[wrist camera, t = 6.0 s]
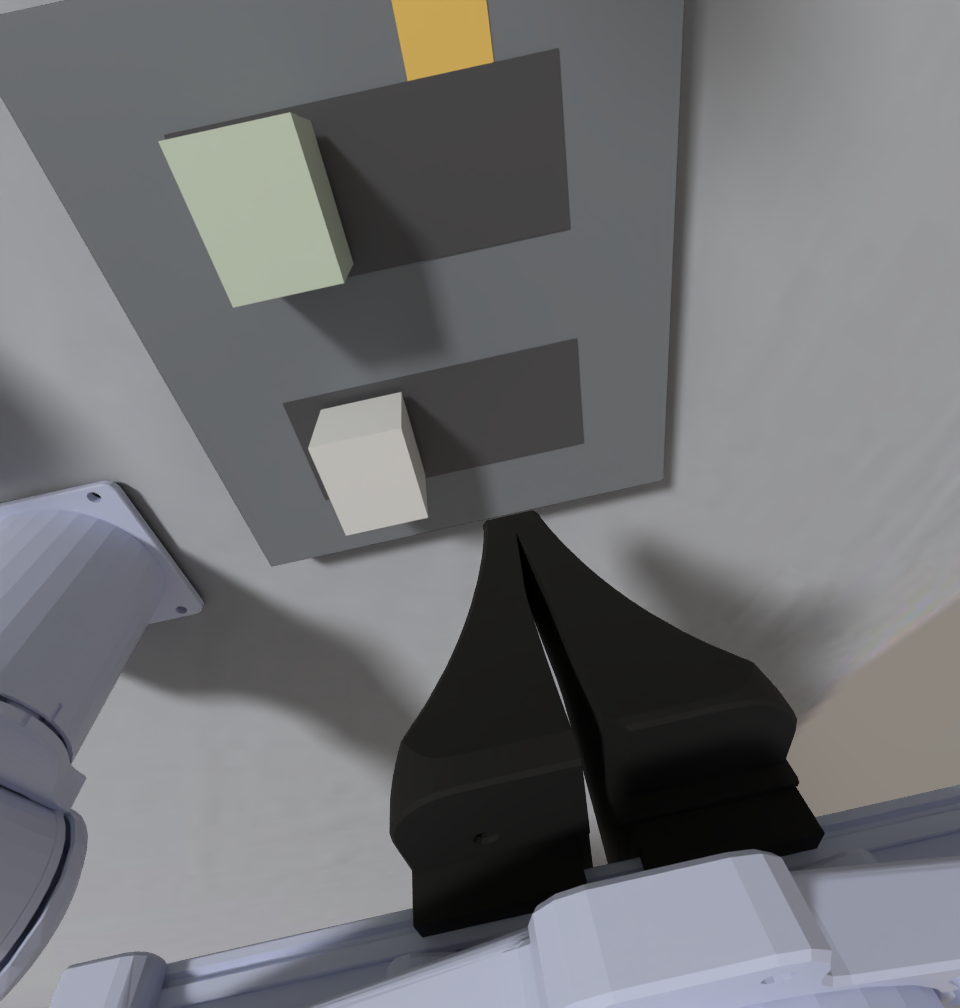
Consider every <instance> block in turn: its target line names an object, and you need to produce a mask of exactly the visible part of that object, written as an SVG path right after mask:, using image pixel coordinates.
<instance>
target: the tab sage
mask: <svg viewBox="0 0 960 1008" xmlns="http://www.w3.org/2000/svg"><path fill="white" fill-rule="evenodd" d="M158 142H159V144H160V147H161V149H162V151H163V153H164V156H165V158H166V160H167V162H168V164H169V167H170V169H171V171H172V173H173V176H174V178H175V180H176V182H177V184H178V187H179V189H180V191H181V193H182V196H183V198H184V200H185V202H186V204H187V207H188V209H189V211H190V213H191V215H192V218H193V220H194V222H195V224H196V227H197V229H198V231H199V233H200V235H201V238H202V240H203V242H204V244H205V247H206V249H207V251H208V253H209V255H210V258H211V260H212V262H213V264H214V267H215V269H216V271H217V273H218V275H219V278H220V280H221V282H222V284H223V286H224V289H225V291H226V293H227V295H228V298H229V300H230V302H231V304H232V306H233V308H234V307H238V306H243V305H247V304H252V303H257V302H261V301H266V300H270V299H275V298H279V297H284V296H288V295H293V294H297V293H302V292H306V291H311V290H315V289H320V288H324V287H329V286H334V285H338V284H343V283H345V281H346V279H347V276H348V274H349V272H350V270H351V268H352V266H353V260H352V257H351V254H350V250H349V247H348V244H347V240H346V237H345V234H344V230H343V227H342V223H341V220H340V217H339V213H338V210H337V207H336V203H335V200H334V197H333V193H332V190H331V187H330V183H329V180H328V177H327V173H326V170H325V167H324V163H323V160H322V157H321V153H320V150H319V147H318V143H317V140H316V137H315V133H314V130H313V127H312V123H311V121H310V120H308V119H305V118H303V117H301V116H298V115H296V114H293V113H291V112H289V113H284V114H280V115H275V116H271V117H266V118H262V119H257V120H253V121H248V122H244V123H239V124H234V125H230V126H225V127H221V128H216V129H212V130H207V131H203V132H198V133H194V134H189V135H185V136H180V137H175V138H171V139H166V140H162V141H158Z"/></svg>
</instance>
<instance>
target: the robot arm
mask: <svg viewBox="0 0 960 1008" xmlns="http://www.w3.org/2000/svg"><path fill="white" fill-rule="evenodd" d="M92 492H94V493H97V494H98V495H100V497H96V496H95V495H93V494H92ZM483 529H484V544H483V553H482V560H481V565H480V571H479V576H478V581H477V585H476V588H475V592H474V596H473V600H472V603H471V607H470V610H469V613H468V616H467V619H466V622H465V624H464V627H463V630H462V632H461V635H460V637H459V640H458V642H457V644H456V647H455V649H454V651H453V653H452V656H451V658H450V660H449V662H448V664H447V666H446V668H445V670H444V672H443V674H442V676H441V678H440V679H439V681H438V683H437V685H436V687H435V689H434V690H433V692H432V694H431V696H430V698H429V699H428V701H427V703H426V704H425V706H424V708H423V709H422V711H421V712H420V714H419V715H418V717H417V718H416V720H415V721H414V723H413V724H412V726H411V727H410V729H409V730H408V732H407V733H406V735H405V736H404V738H403V739H402V741H401V743H400V747H399V751H398V755H397V760H396V764H395V769H394V774H393V780H392V788H391V797H390V836H391V839H392V841H393V843H394V845H395V846H396V848H397V849H398V851H399V852H400V854H401V855H402V857H403V858H404V859H405V861H406V862H407V864H408V865H409V867H410V868H411V870H412V887H413V908H412V909H407V910H403V911H399V912H394V913H390V914H385V915H381V916H376V917H372V918H368V919H363V920H359V921H354V922H350V923H346V924H341V925H337V926H332V927H328V928H323V929H319V930H315V931H310V932H306V933H301V934H297V935H292V936H288V937H284V938H279V939H275V940H270V941H266V942H261V943H257V944H253V945H248V946H244V947H239V948H235V949H230V950H226V951H222V952H217V953H213V954H208V955H204V956H199V957H195V958H191V959H186V960H182V961H177V962H173V963H169V964H167V963H166V962H165V960H163V959H162V958H161V957H159V956H157V955H155V954H152V953H149V952H129V953H123V954H118V955H114V956H109V957H105V958H101V959H96V960H92V961H87V962H83V963H78V964H74V965H71V966H69V967H68V968H67V969H65V970H64V972H63V974H62V976H61V979H60V981H59V984H58V986H57V988H56V991H55V993H54V996H53V998H52V1000H51V1003H50V1005H49V1008H960V785H956V786H952V787H947V788H943V789H939V790H934V791H930V792H926V793H921V794H916V795H912V796H908V797H904V798H899V799H894V800H890V801H886V802H881V803H876V804H872V805H868V806H864V807H859V808H854V809H850V810H846V811H841V812H837V813H832V814H828V815H823V816H819V817H814V815H813V813H812V812H811V810H810V809H809V807H808V805H807V804H806V802H805V801H804V799H803V798H802V796H801V794H800V793H799V791H798V790H797V788H796V786H798V784H799V781H798V778H797V776H796V774H795V773H794V771H793V769H792V768H791V766H790V765H789V763H788V762H787V760H786V757H787V753H788V751H789V748H790V745H791V743H792V740H793V737H794V734H795V731H796V723H797V718H796V716H795V714H794V712H793V710H792V708H791V707H790V706H789V704H788V703H787V701H786V700H785V699H784V697H783V696H782V694H781V693H780V692H779V691H778V689H777V688H776V687H775V686H774V685H773V684H772V683H771V681H770V680H769V679H768V678H767V677H766V676H765V675H764V674H763V673H762V671H761V670H760V669H759V668H758V667H757V666H756V665H755V664H754V663H753V662H751V661H748V660H746V659H744V658H741V657H739V656H736V655H734V654H732V653H729V652H727V651H724V650H722V649H720V648H717V647H715V646H712V645H710V644H708V643H705V642H703V641H701V640H699V639H697V638H695V637H693V636H691V635H689V634H687V633H685V632H683V631H681V630H679V629H678V628H676V627H674V626H672V625H671V624H669V623H667V622H665V621H664V620H662V619H660V618H658V617H657V616H655V615H653V614H651V613H650V612H648V611H646V610H645V609H643V608H642V607H640V606H639V605H637V604H636V603H634V602H633V601H631V600H630V599H628V598H627V597H625V596H624V595H623V594H621V593H620V592H618V591H617V590H616V589H614V588H613V587H612V586H610V585H609V584H608V583H606V582H605V581H604V580H603V579H601V578H600V577H599V576H598V575H597V574H595V573H594V572H593V571H592V570H591V569H590V568H588V567H587V566H586V565H585V564H584V563H583V562H582V561H581V560H580V559H579V558H577V557H576V556H575V555H574V554H573V553H572V552H571V551H570V550H569V549H568V548H567V547H566V546H565V545H564V544H563V543H562V542H561V541H560V540H559V539H558V537H557V536H556V535H555V534H554V533H553V532H552V531H551V530H550V529H549V527H548V526H547V525H546V524H545V523H544V521H543V520H542V519H541V517H540V516H539V514H538V513H536V512H535V511H533V510H532V511H528V512H523V513H519V514H515V515H510V516H506V517H501V518H497V519H492V520H488V521H486V522H485V523H484V525H483ZM180 606H182V607H185V608H182V607H180ZM203 606H204V602H203V600H202V599H201V597H200V596H199V595H198V593H197V592H196V590H195V589H194V588H193V586H192V585H191V584H190V582H189V581H188V579H187V578H186V577H185V575H184V574H183V573H182V571H181V570H180V568H179V567H178V566H177V564H176V563H175V561H174V560H173V559H172V557H171V556H170V555H169V553H168V552H167V550H166V549H165V548H164V546H163V545H162V544H161V542H160V541H159V539H158V538H157V537H156V535H155V534H154V533H153V531H152V530H151V528H150V527H149V526H148V524H147V523H146V521H145V520H144V519H143V517H142V516H141V515H140V513H139V512H138V510H137V509H136V508H135V506H134V505H133V504H132V502H131V501H130V499H129V498H128V497H127V495H126V494H125V493H124V491H123V490H122V488H121V487H120V486H119V485H118V484H116V483H114V482H111V481H99V482H95V483H90V484H86V485H81V486H77V487H72V488H68V489H63V490H58V491H54V492H49V493H45V494H40V495H36V496H31V497H27V498H22V499H18V500H13V501H9V502H4V503H0V1001H1V1000H2V999H3V998H4V997H5V996H6V995H7V994H8V993H9V992H10V991H11V990H12V989H13V987H14V986H15V985H16V984H17V983H18V982H19V981H20V979H21V978H22V977H23V976H24V975H25V973H26V972H27V971H28V970H29V968H30V967H31V966H32V965H33V963H34V962H35V961H36V959H37V958H38V957H39V955H40V954H41V952H42V951H43V949H44V948H45V947H46V945H47V944H48V942H49V940H50V939H51V937H52V936H53V934H54V932H55V931H56V929H57V928H58V926H59V924H60V922H61V920H62V919H63V917H64V915H65V913H66V911H67V909H68V907H69V905H70V902H71V900H72V898H73V895H74V893H75V891H76V888H77V885H78V882H79V879H80V875H81V871H82V868H83V864H84V860H85V855H86V851H87V839H88V833H87V827H86V824H85V822H84V820H83V818H82V816H81V815H79V814H78V813H77V812H76V811H74V810H72V809H71V807H72V805H73V803H74V801H75V799H76V797H77V795H78V793H79V791H80V789H81V787H82V785H83V783H84V782H85V780H86V776H85V775H83V774H81V773H80V772H78V771H77V770H76V769H75V768H74V767H73V766H72V765H71V764H72V762H73V760H74V758H75V756H76V755H77V753H78V751H79V749H80V747H81V745H82V744H83V742H84V740H85V738H86V736H87V735H88V733H89V731H90V729H91V727H92V725H93V724H94V722H95V720H96V718H97V716H98V714H99V713H100V711H101V709H102V707H103V705H104V704H105V702H106V700H107V698H108V696H109V694H110V693H111V691H112V689H113V687H114V685H115V683H116V682H117V680H118V678H119V676H120V674H121V673H122V671H123V669H124V667H125V665H126V663H127V662H128V660H129V658H130V656H131V654H132V652H133V651H134V649H135V647H136V645H137V643H138V642H139V640H140V638H141V636H142V634H143V632H144V631H145V629H146V627H147V625H148V624H153V623H157V622H162V621H166V620H171V619H175V618H180V617H185V616H189V615H194V614H197V613H200V612H201V611H202V609H203ZM534 621H535V622H534ZM535 624H536V625H535ZM536 627H537V628H536ZM537 629H538V631H537ZM538 632H539V635H540V637H541V640H542V642H543V645H544V647H545V650H546V653H547V655H548V658H549V660H550V663H551V666H552V668H553V671H554V673H555V676H556V679H557V681H558V684H559V687H560V690H561V693H562V696H563V700H564V703H565V707H566V711H567V714H568V718H569V720H568V718H567V715H566V713H565V710H564V707H563V704H562V701H561V699H560V696H559V693H558V690H557V688H556V685H555V682H554V679H553V676H552V673H551V670H550V667H549V665H548V662H547V659H546V656H545V653H544V650H543V647H542V644H541V641H540V638H539V635H538ZM569 721H570V723H569ZM570 725H571V726H570ZM583 772H584V776H585V779H586V783H587V787H588V790H589V794H590V798H591V801H592V805H593V809H594V813H595V816H596V820H597V824H598V828H599V831H600V835H601V839H602V843H603V847H604V850H605V854H606V858H607V862H608V864H607V865H602V866H598V867H593V864H592V856H591V848H590V839H589V833H590V828H589V820H588V811H587V803H586V794H585V785H584V777H583Z"/></svg>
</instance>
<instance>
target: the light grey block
mask: <svg viewBox="0 0 960 1008" xmlns="http://www.w3.org/2000/svg"><path fill="white" fill-rule="evenodd" d="M308 450H309V452H310V455H311V457H312V459H313V461H314V464H315V466H316V468H317V471H318V473H319V475H320V478H321V480H322V482H323V484H324V487H325V489H326V491H327V494H328V496H329V498H330V501H331V503H332V505H333V507H334V510H335V512H336V514H337V517H338V519H339V521H340V523H341V526H342V528H343V530H344V533H345V535H346V536H347V535H352V534H356V533H361V532H365V531H370V530H374V529H379V528H384V527H388V526H393V525H397V524H402V523H406V522H411V521H415V520H420V519H424V518H428V508H427V494H426V480H425V472H424V469H423V465H422V462H421V458H420V455H419V451H418V448H417V444H416V441H415V437H414V434H413V430H412V427H411V423H410V420H409V416H408V413H407V409H406V406H405V403H404V399H403V396H402V392H399V393H394V394H390V395H385V396H380V397H376V398H371V399H367V400H362V401H358V402H353V403H349V404H344V405H340V406H335V407H331V408H326V409H322V410H321V411H320V414H319V417H318V420H317V423H316V426H315V429H314V432H313V435H312V438H311V441H310V444H309V447H308Z"/></svg>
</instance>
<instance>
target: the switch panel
mask: <svg viewBox="0 0 960 1008" xmlns="http://www.w3.org/2000/svg"><path fill="white" fill-rule="evenodd" d="M683 13H684V0H64V1H59V2H55V3H50V4H45V5H41V6H36V7H32V8H27V9H23V10H18V11H14V12H9V13H4V14H0V96H1V98H2V100H3V102H4V103H5V105H6V107H7V109H8V110H9V112H10V114H11V115H12V117H13V119H14V121H15V122H16V124H17V126H18V128H19V129H20V131H21V133H22V135H23V136H24V138H25V140H26V141H27V143H28V145H29V147H30V148H31V150H32V152H33V154H34V155H35V157H36V159H37V161H38V162H39V164H40V166H41V168H42V169H43V171H44V173H45V174H46V176H47V178H48V180H49V181H50V183H51V185H52V187H53V188H54V190H55V192H56V194H57V195H58V197H59V199H60V201H61V202H62V204H63V206H64V207H65V209H66V211H67V213H68V214H69V216H70V218H71V220H72V221H73V223H74V225H75V227H76V228H77V230H78V232H79V233H80V235H81V237H82V239H83V240H84V242H85V244H86V246H87V247H88V249H89V251H90V253H91V254H92V256H93V258H94V260H95V261H96V263H97V265H98V266H99V268H100V270H101V272H102V273H103V275H104V277H105V279H106V280H107V282H108V284H109V286H110V287H111V289H112V291H113V293H114V294H115V296H116V298H117V299H118V301H119V303H120V305H121V306H122V308H123V310H124V312H125V313H126V315H127V317H128V319H129V320H130V322H131V324H132V325H133V327H134V329H135V331H136V332H137V334H138V336H139V338H140V339H141V341H142V343H143V345H144V346H145V348H146V350H147V352H148V353H149V355H150V357H151V358H152V360H153V362H154V364H155V365H156V367H157V369H158V371H159V372H160V374H161V376H162V378H163V379H164V381H165V383H166V385H167V386H168V388H169V390H170V391H171V393H172V395H173V397H174V398H175V400H176V402H177V404H178V405H179V407H180V409H181V411H182V412H183V414H184V416H185V418H186V419H187V421H188V423H189V424H190V426H191V428H192V430H193V431H194V433H195V435H196V437H197V438H198V440H199V442H200V444H201V445H202V447H203V449H204V450H205V452H206V454H207V456H208V457H209V459H210V461H211V463H212V464H213V466H214V468H215V470H216V471H217V473H218V475H219V477H220V478H221V480H222V482H223V483H224V485H225V487H226V489H227V490H228V492H229V494H230V496H231V497H232V499H233V501H234V503H235V504H236V506H237V508H238V510H239V511H240V513H241V515H242V516H243V518H244V520H245V522H246V523H247V525H248V527H249V529H250V530H251V532H252V534H253V536H254V537H255V539H256V541H257V542H258V544H259V546H260V548H261V549H262V551H263V553H264V555H265V556H266V558H267V560H268V562H269V563H270V565H271V567H272V566H277V565H281V564H286V563H290V562H295V561H299V560H304V559H308V558H313V557H317V556H322V555H326V554H331V553H335V552H340V551H344V550H349V549H353V548H358V547H362V546H367V545H371V544H376V543H380V542H385V541H389V540H394V539H398V538H403V537H408V536H412V535H417V534H421V533H426V532H430V531H435V530H439V529H444V528H448V527H453V526H457V525H462V524H466V523H471V522H475V521H480V520H484V519H489V518H493V517H498V516H502V515H507V514H511V513H516V512H520V511H525V510H529V509H534V508H539V507H543V506H548V505H552V504H557V503H561V502H566V501H570V500H575V499H579V498H584V497H588V496H593V495H597V494H602V493H606V492H611V491H615V490H620V489H624V488H629V487H633V486H638V485H642V484H647V483H651V482H656V481H660V480H663V468H664V445H665V422H666V400H667V377H668V354H669V331H670V309H671V286H672V263H673V241H674V218H675V195H676V172H677V150H678V127H679V104H680V81H681V59H682V36H683ZM289 112H291V113H293V114H296V115H298V116H301V117H303V118H305V119H308V120H310V121H311V123H312V127H313V130H314V133H315V137H316V140H317V143H318V147H319V150H320V153H321V157H322V160H323V163H324V167H325V170H326V173H327V177H328V180H329V183H330V187H331V190H332V193H333V197H334V200H335V203H336V207H337V210H338V213H339V217H340V220H341V223H342V227H343V230H344V234H345V237H346V240H347V244H348V247H349V250H350V254H351V257H352V260H353V266H352V268H351V270H350V272H349V274H348V276H347V279H346V281H345V283H343V284H338V285H334V286H329V287H324V288H320V289H315V290H311V291H306V292H302V293H297V294H293V295H288V296H284V297H279V298H275V299H270V300H266V301H261V302H257V303H252V304H247V305H243V306H238V307H234V308H233V306H232V304H231V302H230V300H229V298H228V295H227V293H226V291H225V289H224V286H223V284H222V282H221V280H220V278H219V275H218V273H217V271H216V269H215V267H214V264H213V262H212V260H211V258H210V255H209V253H208V251H207V249H206V247H205V244H204V242H203V240H202V238H201V235H200V233H199V231H198V229H197V227H196V224H195V222H194V220H193V218H192V215H191V213H190V211H189V209H188V207H187V204H186V202H185V200H184V198H183V196H182V193H181V191H180V189H179V187H178V184H177V182H176V180H175V178H174V176H173V173H172V171H171V169H170V167H169V164H168V162H167V160H166V158H165V156H164V153H163V151H162V149H161V147H160V144H159V142H158V141H162V140H166V139H171V138H175V137H180V136H185V135H189V134H194V133H198V132H203V131H207V130H212V129H216V128H221V127H225V126H230V125H234V124H239V123H244V122H248V121H253V120H257V119H262V118H266V117H271V116H275V115H280V114H284V113H289ZM399 392H402V396H403V399H404V403H405V406H406V409H407V413H408V416H409V420H410V423H411V427H412V430H413V434H414V437H415V441H416V444H417V448H418V451H419V455H420V458H421V462H422V465H423V469H424V472H425V480H426V494H427V508H428V518H424V519H420V520H415V521H411V522H406V523H402V524H397V525H393V526H388V527H384V528H379V529H374V530H370V531H365V532H361V533H356V534H352V535H347V536H346V535H345V533H344V530H343V528H342V526H341V523H340V521H339V519H338V517H337V514H336V512H335V510H334V507H333V505H332V503H331V501H330V498H329V496H328V494H327V491H326V489H325V487H324V484H323V482H322V480H321V478H320V475H319V473H318V471H317V468H316V466H315V464H314V461H313V459H312V457H311V455H310V452H309V450H308V447H309V444H310V441H311V438H312V435H313V432H314V429H315V426H316V423H317V420H318V417H319V414H320V411H321V410H322V409H326V408H331V407H335V406H340V405H344V404H349V403H353V402H358V401H362V400H367V399H371V398H376V397H380V396H385V395H390V394H394V393H399Z"/></svg>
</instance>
